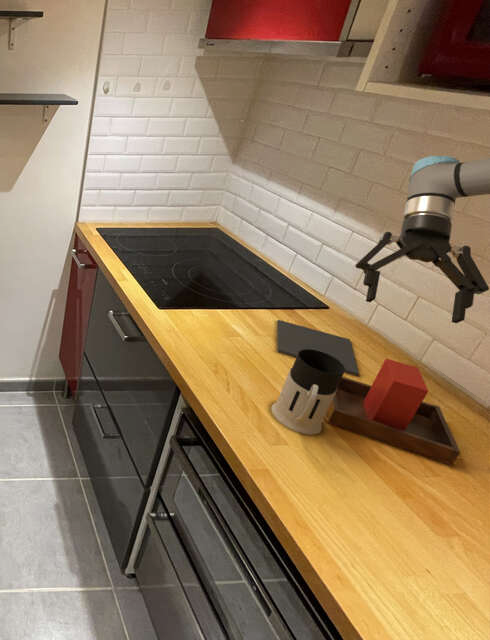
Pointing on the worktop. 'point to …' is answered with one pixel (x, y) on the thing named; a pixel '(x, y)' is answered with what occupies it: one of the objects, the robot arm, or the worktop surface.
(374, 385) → the block
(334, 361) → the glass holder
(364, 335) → the worktop surface
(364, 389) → the dark brown wooden tray
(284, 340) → the mat
